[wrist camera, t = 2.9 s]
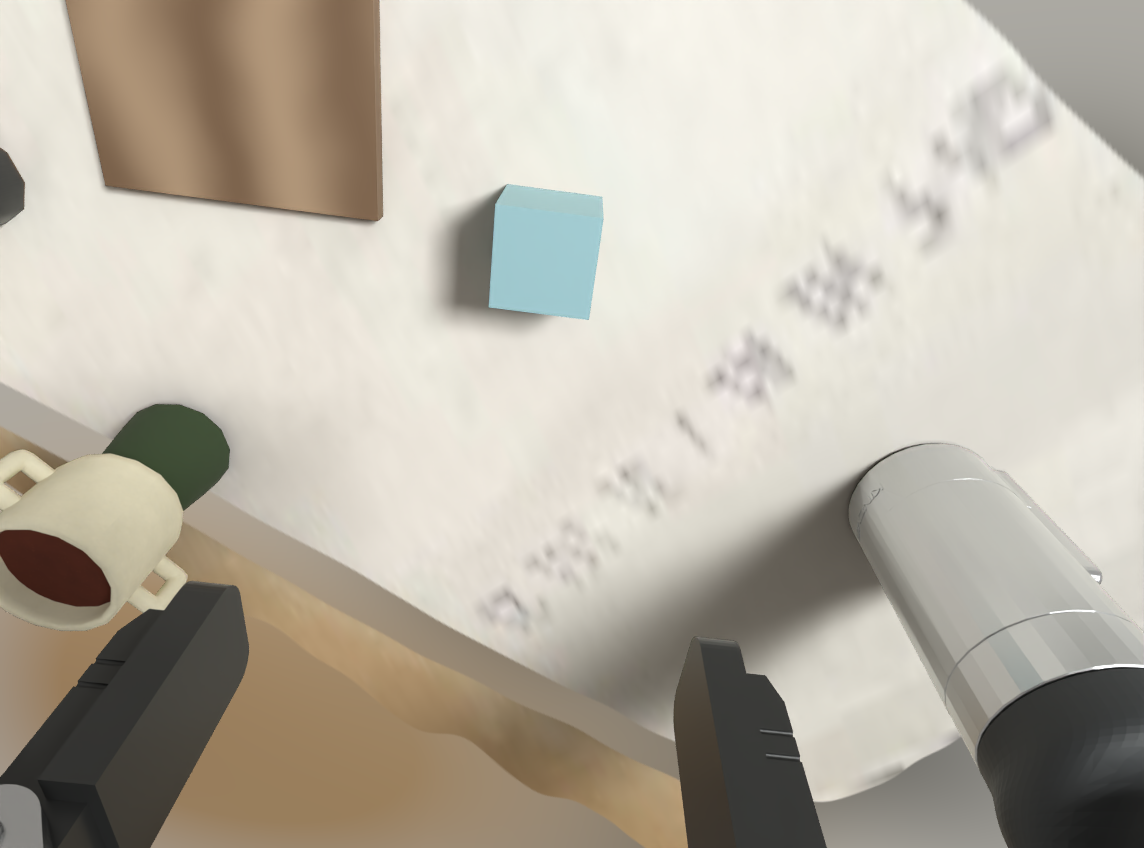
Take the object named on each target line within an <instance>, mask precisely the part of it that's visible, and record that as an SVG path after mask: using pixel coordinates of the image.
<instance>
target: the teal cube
mask: <svg viewBox="0 0 1144 848" xmlns="http://www.w3.org/2000/svg"><path fill="white" fill-rule="evenodd" d="M602 225H603V202H602V197H600V196H592V195H585V194H577V193H570V192H562V191H555V190H547V189H540V188H533V187H525V186H518V185H510V184H507V186H506V187H505V189H504V191H503V192H502V194H501V195H500V197H499V199H498V200H497V202H496V204H495V217H494V233H493V249H492V264H491V280H490V295H489V307H490V308H498V309H506V310H514V311H522V312H530V313H538V314H546V315H554V316H561V317H569V318H577V319H585V320H589V315H590V308H591V301H592V294H593V287H594V280H595V274H596V267H597V260H598V253H599V246H600V239H601V232H602Z"/></svg>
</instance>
